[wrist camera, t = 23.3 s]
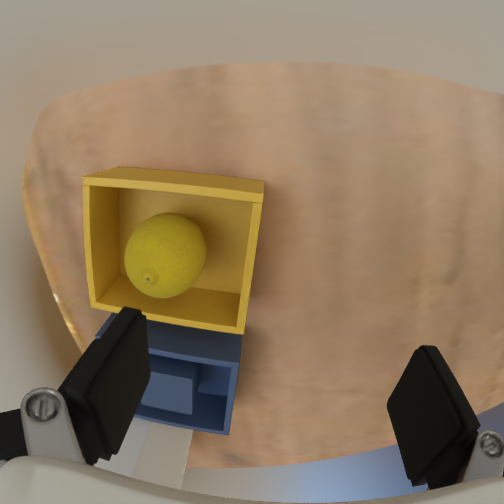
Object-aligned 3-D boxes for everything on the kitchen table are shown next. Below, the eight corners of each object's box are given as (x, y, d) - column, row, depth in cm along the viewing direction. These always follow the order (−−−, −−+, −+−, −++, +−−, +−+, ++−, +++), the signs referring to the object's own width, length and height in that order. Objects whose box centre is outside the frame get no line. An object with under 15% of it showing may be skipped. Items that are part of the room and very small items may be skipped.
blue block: (152, 335, 29) (135, 368, 24) (202, 344, 29) (192, 379, 24) (154, 371, 30) (141, 404, 26) (200, 380, 31) (192, 415, 26)
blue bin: (119, 302, 28) (95, 335, 23) (243, 323, 28) (239, 363, 23) (128, 377, 32) (112, 411, 27) (233, 396, 32) (228, 435, 27)
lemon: (137, 242, 25) (94, 284, 18) (171, 188, 24) (131, 214, 16) (190, 279, 26) (164, 334, 19) (228, 229, 25) (212, 272, 17)
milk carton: (195, 423, 34) (167, 558, 17) (152, 430, 36) (115, 548, 18) (163, 387, 32) (114, 534, 14) (119, 397, 33) (65, 521, 16)
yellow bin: (117, 166, 24) (82, 176, 18) (264, 180, 24) (263, 194, 18) (117, 277, 27) (90, 307, 22) (247, 297, 27) (243, 335, 22)
